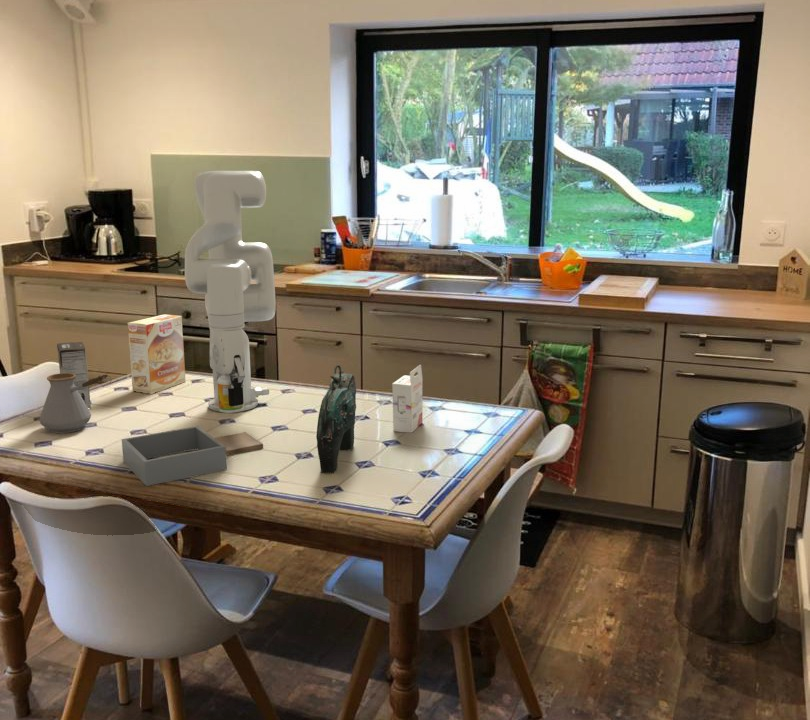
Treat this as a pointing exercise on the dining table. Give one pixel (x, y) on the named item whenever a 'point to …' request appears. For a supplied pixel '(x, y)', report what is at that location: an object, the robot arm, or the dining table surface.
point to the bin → (173, 466)
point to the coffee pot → (66, 404)
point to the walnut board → (239, 443)
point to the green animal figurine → (336, 420)
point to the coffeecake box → (156, 353)
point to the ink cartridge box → (407, 402)
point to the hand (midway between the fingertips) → (230, 401)
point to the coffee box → (75, 365)
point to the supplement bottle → (226, 395)
